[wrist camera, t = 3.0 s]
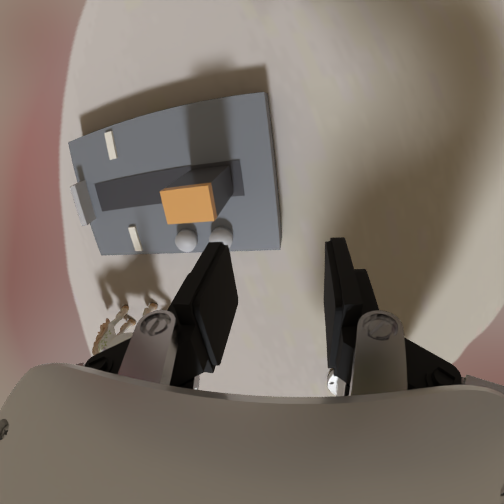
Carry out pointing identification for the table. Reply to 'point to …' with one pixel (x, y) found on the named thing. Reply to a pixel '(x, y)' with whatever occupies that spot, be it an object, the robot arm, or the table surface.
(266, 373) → the table surface
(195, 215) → the fader knob
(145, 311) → the unicorn figurine
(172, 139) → the console
